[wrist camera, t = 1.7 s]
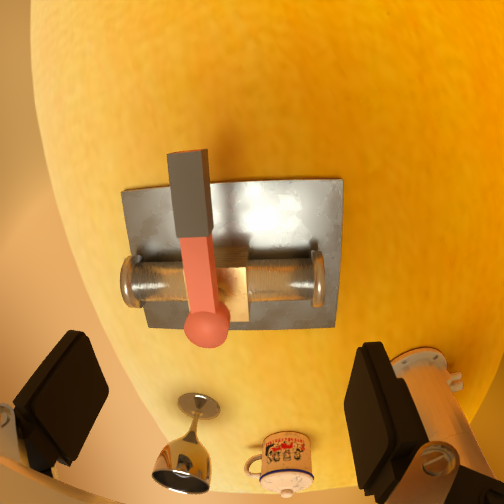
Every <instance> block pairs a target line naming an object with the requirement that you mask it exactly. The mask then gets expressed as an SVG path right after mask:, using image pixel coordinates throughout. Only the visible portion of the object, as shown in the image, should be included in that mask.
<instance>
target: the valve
mask: <svg viewBox="0 0 504 504" xmlns="http://www.w3.org/2000/svg"><path fill="white" fill-rule="evenodd" d="M210 188H211V200H212V211H213V222H214V229H213V230H212V239H213V249H214V258H215V267H216V276H217V285H218V294H219V301H221V302H223V303H224V304H225V305H226V306H227V307H228V309H229V311H230V314H231V320H230V324H229V329H228V330H281V329H310V328H331V327H335V321H336V310H337V299H338V287H339V274H340V258H341V239H342V213H343V179H341V178H309V179H268V180H244V181H225V182H210ZM121 196H122V203H123V210H124V216H125V222H126V228H127V233H128V239H129V244H130V249H131V256H128V257H127V258H126V259H125V261H124V262H123V265H122V268H121V273H120V288H121V294H122V297H123V300H124V302H125V303H126V305H127V306H128V307H130V308H142V307H143V308H144V312H145V316H146V320H147V323H148V327H149V328H165V329H184V324H185V322H186V319H187V317H188V314H189V312H190V304H189V298H188V292H187V286H186V280H185V274H184V267H183V261H182V254H181V247H180V240H179V238H176V231H175V224H174V216H173V208H172V200H171V191H170V186H160V187H150V188H140V189H131V190H124V191H122V192H121Z"/></svg>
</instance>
